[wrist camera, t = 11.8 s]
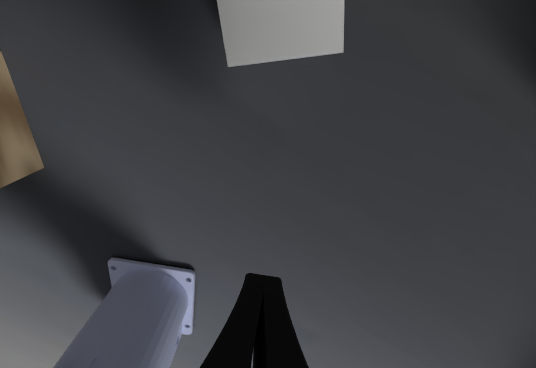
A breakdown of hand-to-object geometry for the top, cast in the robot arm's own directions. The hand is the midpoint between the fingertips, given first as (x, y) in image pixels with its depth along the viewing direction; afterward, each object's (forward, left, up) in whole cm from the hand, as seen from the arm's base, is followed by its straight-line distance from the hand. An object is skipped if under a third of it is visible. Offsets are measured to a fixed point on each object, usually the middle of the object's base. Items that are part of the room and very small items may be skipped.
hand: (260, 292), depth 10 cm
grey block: (+11, +1, -10) cm, 15 cm away
